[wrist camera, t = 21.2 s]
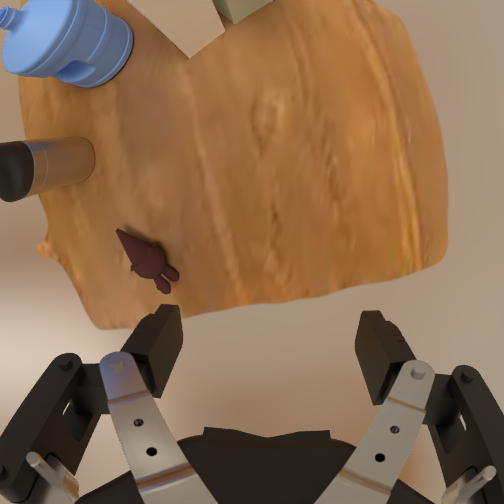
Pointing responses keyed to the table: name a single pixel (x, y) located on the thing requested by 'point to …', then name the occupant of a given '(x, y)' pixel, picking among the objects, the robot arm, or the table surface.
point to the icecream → (148, 261)
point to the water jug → (65, 41)
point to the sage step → (238, 8)
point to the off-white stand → (183, 21)
